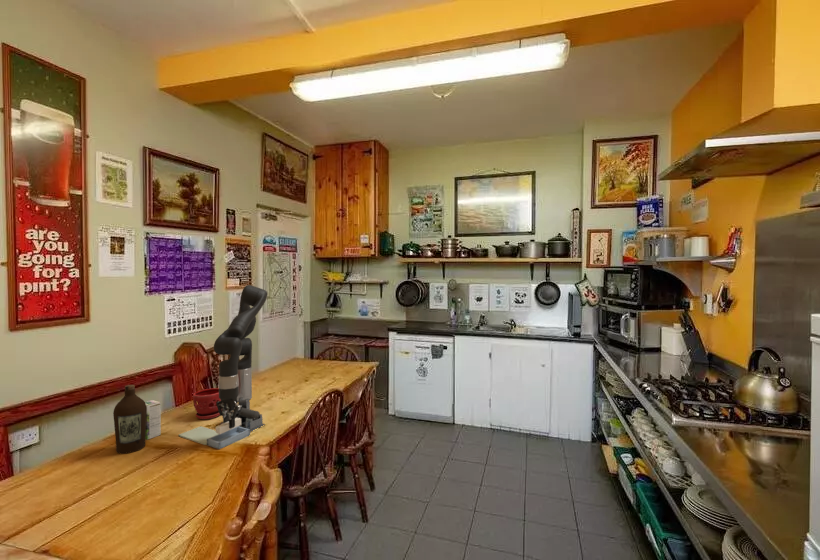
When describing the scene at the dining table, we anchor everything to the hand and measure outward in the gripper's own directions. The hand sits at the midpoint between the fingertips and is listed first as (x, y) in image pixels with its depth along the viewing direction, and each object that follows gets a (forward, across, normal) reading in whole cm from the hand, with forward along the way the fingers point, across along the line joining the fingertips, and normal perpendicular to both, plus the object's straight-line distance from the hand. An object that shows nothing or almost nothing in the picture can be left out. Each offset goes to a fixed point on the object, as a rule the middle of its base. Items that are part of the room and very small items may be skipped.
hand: (229, 426), depth 159 cm
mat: (+5, -14, -2) cm, 15 cm away
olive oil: (+6, -28, -23) cm, 37 cm away
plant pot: (+6, -32, +13) cm, 35 cm away
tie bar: (+1, 0, 0) cm, 1 cm away
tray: (+6, 0, 0) cm, 6 cm away
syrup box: (+6, -33, -13) cm, 36 cm away
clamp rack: (+5, -8, +13) cm, 16 cm away
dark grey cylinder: (+1, -8, +13) cm, 15 cm away
